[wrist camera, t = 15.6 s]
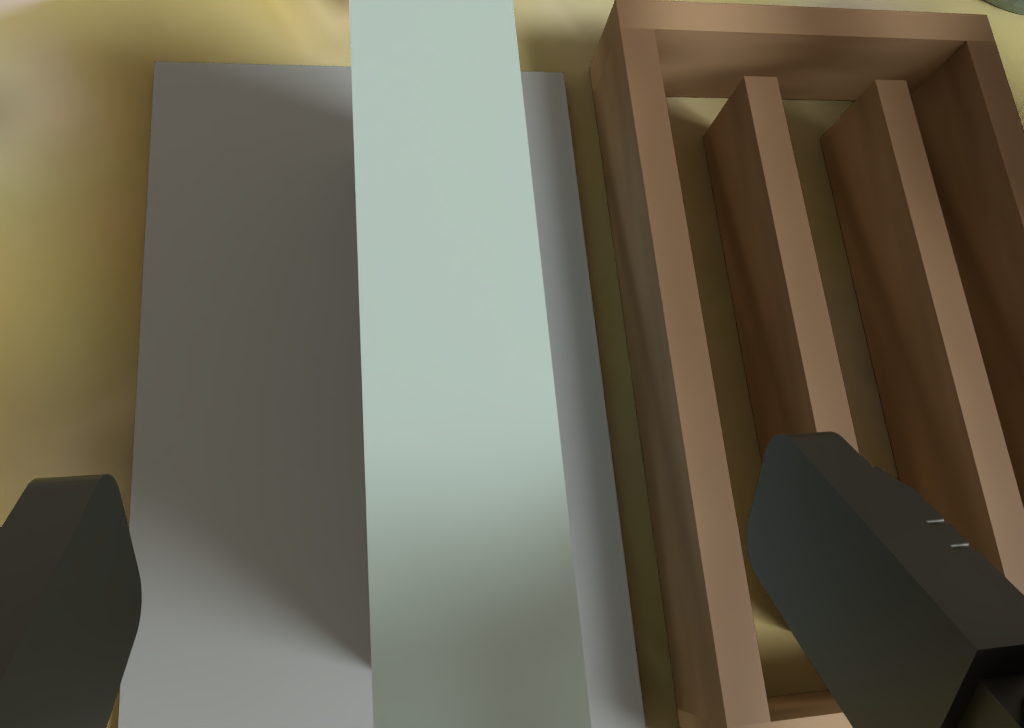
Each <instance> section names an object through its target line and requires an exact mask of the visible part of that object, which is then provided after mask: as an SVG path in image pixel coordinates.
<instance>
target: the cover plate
mask: <svg viewBox="0 0 1024 728" xmlns="http://www.w3.org/2000/svg"><path fill="white" fill-rule="evenodd" d="M349 15H350V45H351V74H352V104H353V133H354V163H355V193H356V222H357V252H358V281H359V311H360V340H361V370H362V400H363V429H364V459H365V488H366V518H367V547H368V577H369V607H370V636H371V666H372V695H373V725H374V728H591V720H590V711H589V701H588V692H587V683H586V674H585V664H584V655H583V646H582V637H581V627H580V618H579V609H578V600H577V590H576V581H575V572H574V563H573V553H572V544H571V535H570V526H569V516H568V507H567V498H566V489H565V479H564V470H563V461H562V452H561V442H560V433H559V424H558V415H557V405H556V396H555V387H554V378H553V368H552V359H551V350H550V341H549V331H548V322H547V313H546V304H545V294H544V285H543V276H542V267H541V257H540V248H539V239H538V230H537V220H536V211H535V202H534V193H533V183H532V174H531V165H530V156H529V146H528V137H527V128H526V119H525V109H524V100H523V91H522V82H521V72H520V63H519V54H518V45H517V35H516V26H515V17H514V8H513V0H349Z"/></svg>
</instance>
